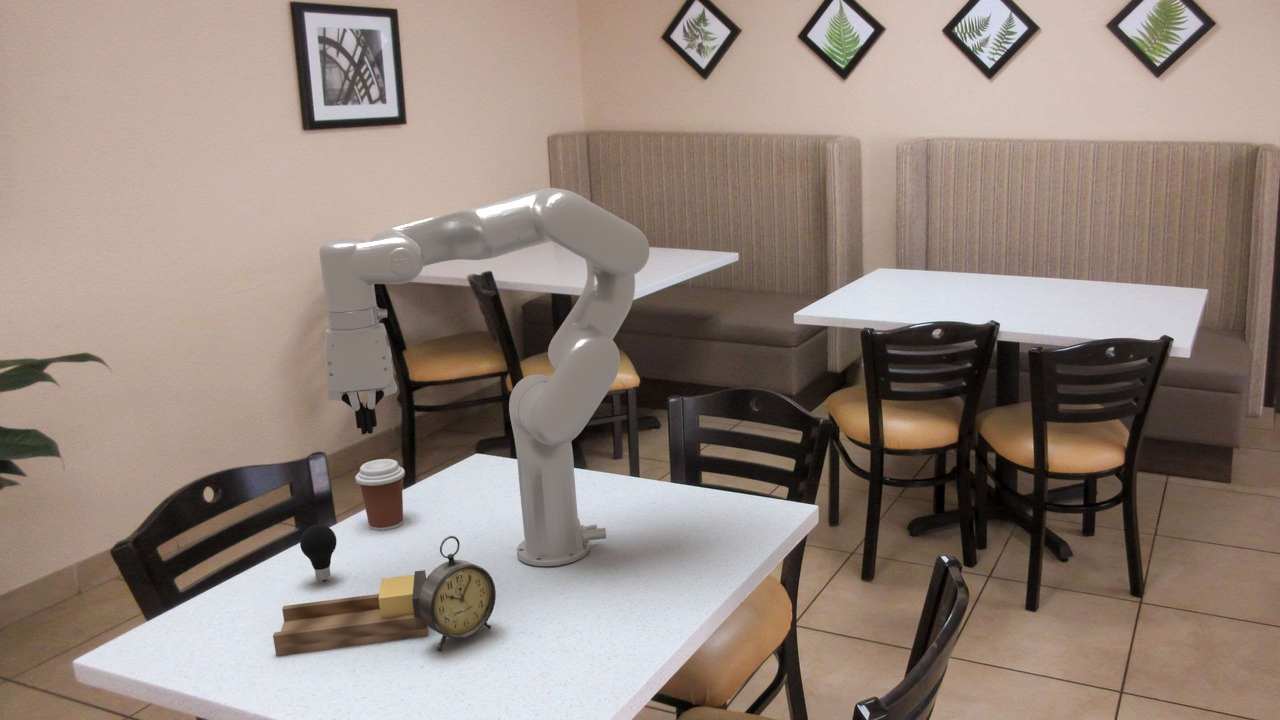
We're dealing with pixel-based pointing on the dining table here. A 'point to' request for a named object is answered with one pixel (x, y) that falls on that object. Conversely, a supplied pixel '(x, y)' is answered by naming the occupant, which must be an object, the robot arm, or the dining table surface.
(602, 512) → the dining table surface
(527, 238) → the robot arm
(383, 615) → the block
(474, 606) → the alarm clock
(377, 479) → the coffee cup
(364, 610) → the wooden tray
